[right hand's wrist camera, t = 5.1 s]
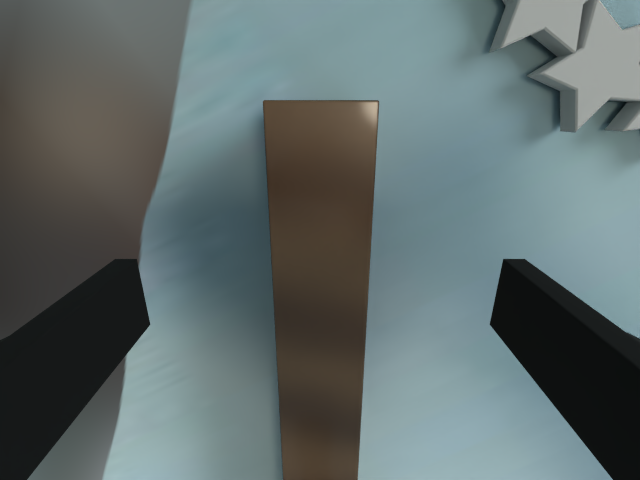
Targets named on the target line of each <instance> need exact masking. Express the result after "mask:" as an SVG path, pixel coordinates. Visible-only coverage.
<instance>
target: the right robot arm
mask: <svg viewBox="0 0 640 480" xmlns="http://www.w3.org/2000/svg"><path fill="white" fill-rule="evenodd" d="M149 325H150V321H149V316H148V312H147V307H146V302H145V297H144V292H143V287H142V283H141V278H140V273H139V268H138V263H137V259H115V260H113V261H112V262H111V263H109V264H108V265H106V266H105V267H104V268H102V269H101V270H100V271H98V272H97V273H95V274H94V275H93V276H91V277H90V278H89V279H87V280H86V281H84V282H83V283H82V284H80V285H79V286H78V287H76V288H75V289H73V290H72V291H71V292H69V293H68V294H66V295H65V296H64V297H62V298H61V299H60V300H58V301H57V302H55V303H54V304H53V305H51V306H50V307H49V308H47V309H46V310H44V311H43V312H42V313H40V314H39V315H38V316H36V317H35V318H33V319H32V320H31V321H29V322H28V323H27V324H25V325H24V326H22V327H21V328H20V329H18V330H17V331H15V332H14V333H13V334H11V335H10V336H8V337H6V338H4V339H2V340H0V480H27V479H28V478H29V476H30V475H31V474H32V473H33V471H34V470H35V469H36V468H37V466H38V465H39V464H40V462H41V461H42V460H43V459H44V457H45V456H46V455H47V454H48V452H49V451H50V450H51V449H52V447H53V446H54V445H55V444H56V442H57V441H58V440H59V439H60V437H61V436H62V435H63V434H64V432H65V431H66V430H67V429H68V427H69V426H70V425H71V423H72V422H73V421H74V420H75V418H76V417H77V416H78V415H79V413H80V412H81V411H82V410H83V408H84V407H85V406H86V405H87V403H88V402H89V401H90V400H91V398H92V397H93V396H94V395H95V393H96V392H97V391H98V389H99V388H100V387H101V386H102V384H103V383H104V382H105V381H106V379H107V378H108V377H109V376H110V374H111V373H112V372H113V371H114V369H115V368H116V367H117V366H118V364H119V363H120V362H121V361H122V359H123V358H124V357H125V355H126V354H127V353H128V352H129V350H130V349H131V348H132V347H133V345H134V344H135V343H136V342H137V340H138V339H139V338H140V337H141V335H142V334H143V333H144V332H145V330H146V329H147V328H148V327H149ZM490 325H491V327H492V328H493V329H494V330H495V332H496V333H497V334H498V335H499V337H500V338H501V339H502V340H503V342H504V343H505V344H506V345H507V347H508V348H509V349H510V350H511V352H512V353H513V354H514V355H515V357H516V358H517V359H518V361H519V362H520V363H521V364H522V366H523V367H524V368H525V369H526V371H527V372H528V373H529V374H530V376H531V377H532V378H533V379H534V381H535V382H536V383H537V384H538V386H539V387H540V388H541V389H542V391H543V392H544V393H545V395H546V396H547V397H548V398H549V400H550V401H551V402H552V403H553V405H554V406H555V407H556V408H557V410H558V411H559V412H560V413H561V415H562V416H563V417H564V418H565V420H566V421H567V422H568V423H569V425H570V426H571V427H572V429H573V430H574V431H575V432H576V434H577V435H578V436H579V437H580V439H581V440H582V441H583V442H584V444H585V445H586V446H587V447H588V449H589V450H590V451H591V452H592V454H593V455H594V456H595V457H596V459H597V460H598V461H599V463H600V464H601V465H602V466H603V468H604V469H605V470H606V471H607V473H608V474H609V475H610V476H611V478H612V479H613V480H640V339H639V338H637V337H635V336H633V335H631V334H629V333H626V332H625V331H623V330H622V329H620V328H619V327H618V326H616V325H615V324H614V323H612V322H611V321H609V320H608V319H607V318H605V317H604V316H602V315H601V314H600V313H598V312H597V311H596V310H594V309H593V308H591V307H590V306H589V305H587V304H586V303H585V302H583V301H582V300H580V299H579V298H578V297H576V296H575V295H574V294H572V293H571V292H569V291H568V290H567V289H565V288H564V287H563V286H561V285H560V284H558V283H557V282H556V281H554V280H553V279H551V278H550V277H549V276H547V275H546V274H545V273H543V272H542V271H540V270H539V269H538V268H536V267H535V266H534V265H532V264H531V263H529V262H528V261H527V260H525V259H503V263H502V268H501V273H500V278H499V283H498V287H497V292H496V297H495V302H494V307H493V312H492V316H491V321H490Z"/></svg>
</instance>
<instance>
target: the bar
mask: <svg viewBox="0 0 640 480" xmlns="http://www.w3.org/2000/svg"><path fill="white" fill-rule="evenodd" d="M263 113H264V132H265V150H266V169H267V187H268V206H269V224H270V243H271V262H272V280H273V299H274V317H275V336H276V354H277V373H278V392H279V410H280V429H281V447H282V466H283V480H358V463H359V445H360V428H361V410H362V393H363V375H364V358H365V340H366V323H367V305H368V288H369V270H370V253H371V235H372V218H373V200H374V183H375V165H376V148H377V130H378V113H379V101H378V100H264V101H263Z"/></svg>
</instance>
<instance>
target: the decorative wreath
mask: <svg viewBox="0 0 640 480" xmlns="http://www.w3.org/2000/svg"><path fill="white" fill-rule="evenodd" d="M502 1H503V3H504V4H505V6H506V7H505V10H504V13H503V15H502V18H501V21H500V23H499V26H498V29H497V32H496V34H495V37H494V40H493V43H492V45H491V48H490V51H489V53H490V52H493V51H496V50H498V49H501V48H503V47H505V46H508V45H510V44H512V43H514V42H516V41H519V40H521V39H523V38H525V37H527V36H530V35H531V36H532V37H534V38H535V39H536V40H537V41H539V42H540V43H541V44H542V45H543V46H545V47H546V48H547V49H548V50H550V51H551V52H552V53H553V54H555V55H556V56H557V57H556V58H555V59H553V60H551V61H550V62H548V63H546V64H545V65H543V66H542V67H540V68H538V69H537V70H535V71H533V72H532V73H530V74H529V75H527V76H528V77H530V78H532V79H534V80H537V81H539V82H541V83H543V84H545V85H547V86H550V87H552V88H554V89H556V90H558V91H560V131H565V132H576V131H577V130H578V129H579V128H580V127H581V126H582V125H583V124H584V123H585V122H586V121H587V120H588V119H589V118H590V117H591V116H592V115H593V114H594V113H595V112H597V111H598V110H599V109H600V108H601V107H602V106H603V105H604V104H605V103H606V102H607V101H608V100H609V101H622V102H627V103H626V104H625V106H624V107H623V108H622V109H621V110H620V112H619V113H618V114H617V115H616V116H615V118H614V119H613V120H612V121H611V122H610V124H609V125H608V126H607V127H606V128H605V130H611V131H628V130H636V129H640V25H636V26H633V27H629V28H626V29H621V28H620V26H619V25H618V24H617V22H616V21H615V20H614V19H613V17H612V16H611V15H610V13H609V12H608V11H607V10H606V8H605V7H604V6H603V4H602V3H601V2H600V0H502Z"/></svg>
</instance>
